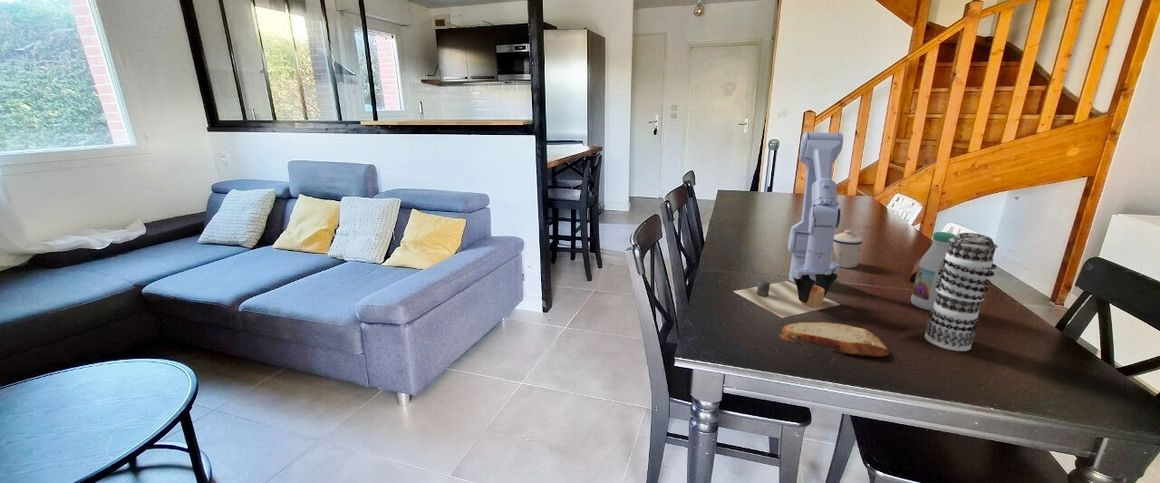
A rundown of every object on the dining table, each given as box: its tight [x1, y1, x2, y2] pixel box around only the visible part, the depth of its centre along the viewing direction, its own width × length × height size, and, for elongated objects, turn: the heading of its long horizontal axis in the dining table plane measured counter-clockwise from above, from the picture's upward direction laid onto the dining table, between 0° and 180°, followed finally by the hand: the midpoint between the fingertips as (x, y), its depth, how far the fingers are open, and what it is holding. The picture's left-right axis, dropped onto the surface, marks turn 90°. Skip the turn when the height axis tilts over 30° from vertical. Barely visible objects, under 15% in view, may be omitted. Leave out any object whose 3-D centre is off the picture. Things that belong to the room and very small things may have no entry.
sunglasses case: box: [909, 257, 922, 284], centre depth 142 cm, size 18×7×7 cm, turn 141°
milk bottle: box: [910, 231, 956, 311], centre depth 119 cm, size 8×8×20 cm
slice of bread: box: [778, 321, 891, 358], centre depth 103 cm, size 18×18×4 cm
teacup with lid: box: [830, 229, 863, 269], centre depth 152 cm, size 12×9×12 cm
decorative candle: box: [923, 232, 999, 352], centre depth 100 cm, size 9×9×25 cm
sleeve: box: [800, 284, 825, 307], centre depth 121 cm, size 5×5×4 cm
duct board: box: [732, 280, 841, 319], centre depth 124 cm, size 20×18×4 cm
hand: (811, 299), depth 122 cm, fingers closed on sleeve, 5 cm apart
